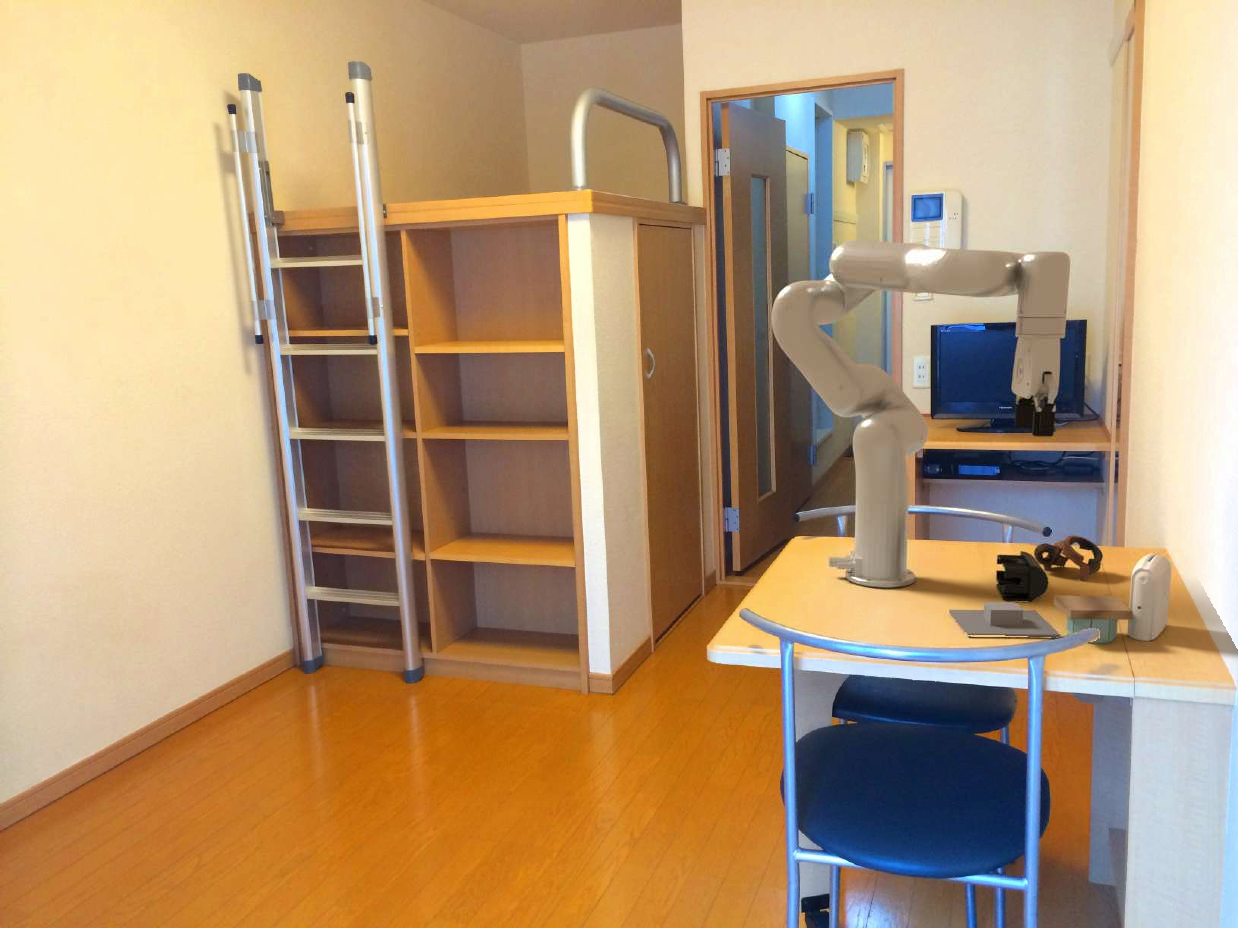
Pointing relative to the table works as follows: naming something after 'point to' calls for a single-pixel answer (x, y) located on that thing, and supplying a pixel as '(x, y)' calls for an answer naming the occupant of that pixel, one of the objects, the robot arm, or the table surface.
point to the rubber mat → (984, 629)
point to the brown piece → (1069, 555)
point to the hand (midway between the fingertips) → (1033, 431)
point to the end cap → (1020, 578)
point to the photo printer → (1149, 597)
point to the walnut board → (1093, 607)
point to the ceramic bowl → (1104, 625)
